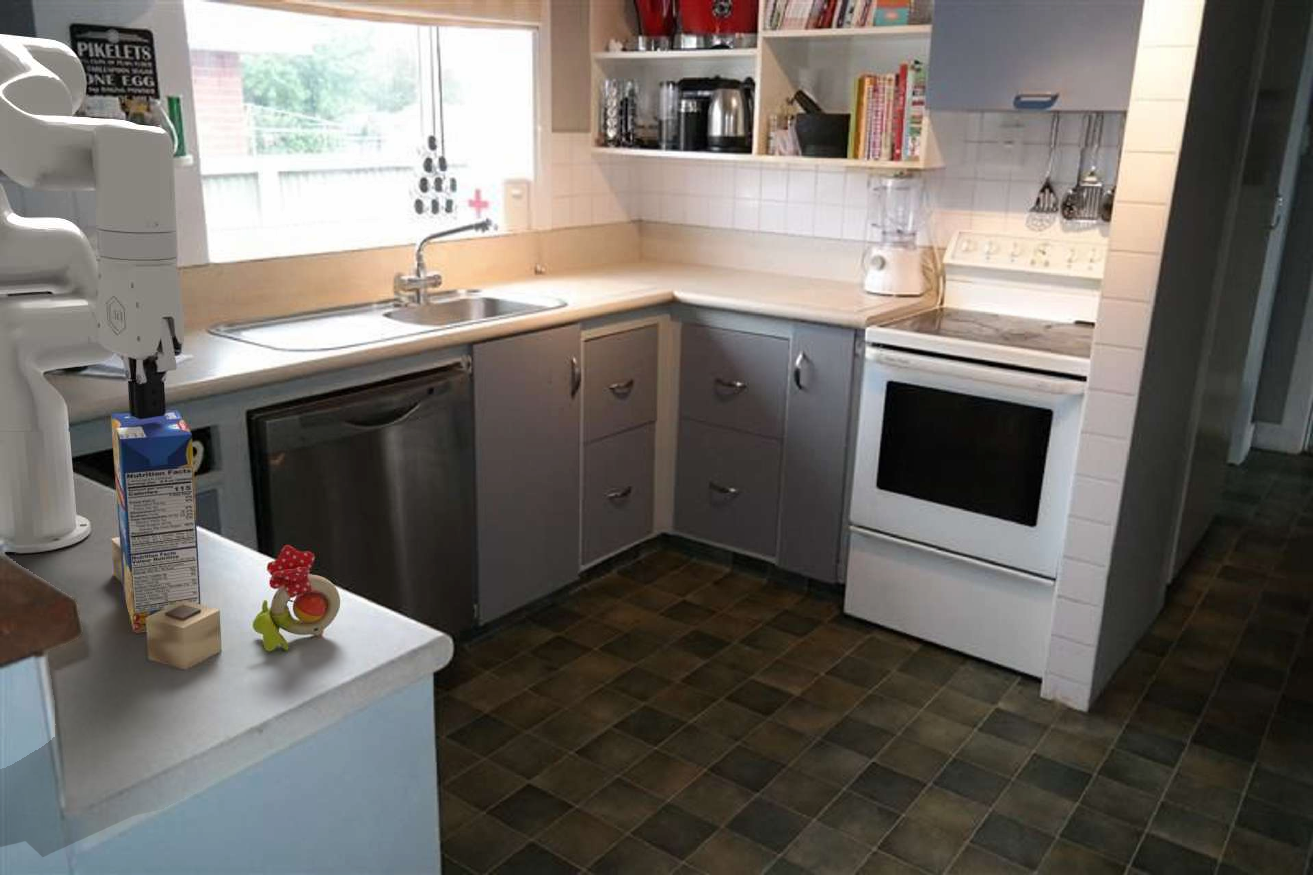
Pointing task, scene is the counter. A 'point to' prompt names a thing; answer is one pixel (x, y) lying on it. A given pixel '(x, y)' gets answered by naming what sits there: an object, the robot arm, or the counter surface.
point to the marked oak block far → (117, 558)
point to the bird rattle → (296, 600)
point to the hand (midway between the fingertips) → (148, 415)
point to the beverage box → (155, 513)
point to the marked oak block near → (183, 634)
